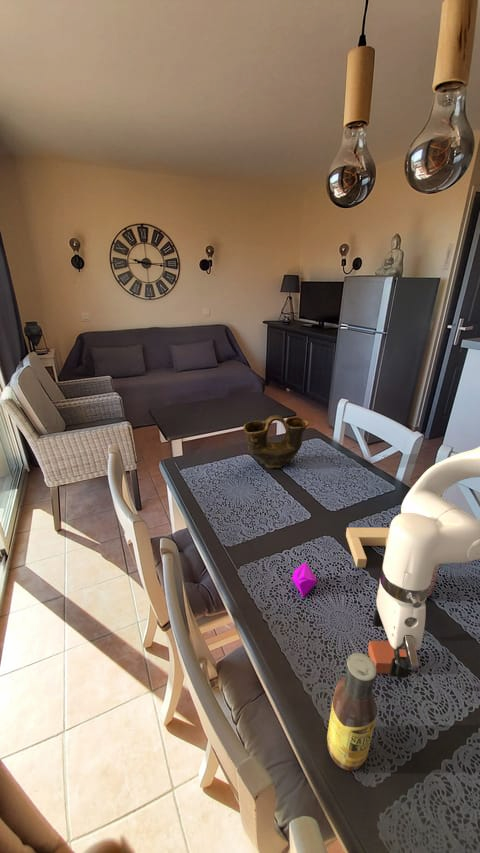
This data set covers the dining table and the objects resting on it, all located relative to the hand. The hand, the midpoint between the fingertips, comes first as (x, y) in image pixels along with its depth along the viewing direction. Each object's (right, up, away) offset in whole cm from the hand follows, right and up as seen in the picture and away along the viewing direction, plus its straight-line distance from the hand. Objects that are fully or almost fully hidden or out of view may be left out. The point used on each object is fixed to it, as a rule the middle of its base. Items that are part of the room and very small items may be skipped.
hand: (389, 648), depth 68 cm
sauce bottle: (-11, -10, -10) cm, 18 cm away
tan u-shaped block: (+8, +8, +29) cm, 31 cm away
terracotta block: (0, -4, +2) cm, 4 cm away
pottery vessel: (-14, +27, +74) cm, 80 cm away
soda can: (+13, +3, +17) cm, 22 cm away
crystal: (-13, +3, +19) cm, 23 cm away
